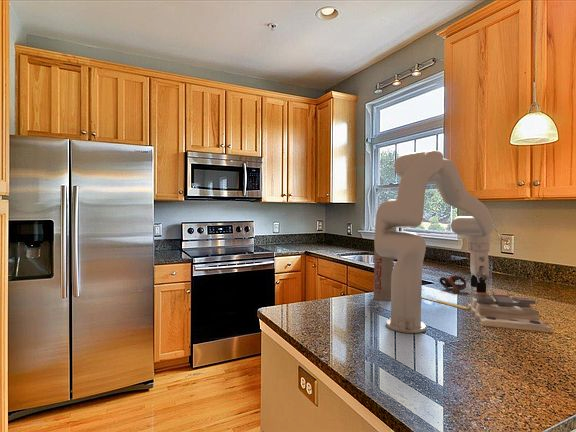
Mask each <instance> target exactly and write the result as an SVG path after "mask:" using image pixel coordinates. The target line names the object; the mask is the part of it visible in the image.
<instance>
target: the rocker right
mask: <svg viewBox="0 0 576 432" xmlns="http://www.w3.org/2000/svg"><path fill="white" fill-rule="evenodd" d="M511 299H512V300H513V301H515V302H518V303H527V304H530V305H536V300H534V299H531V298H529V297H526V296H524V297H523V296H512V297H511Z"/></svg>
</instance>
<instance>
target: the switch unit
mask: <svg viewBox="0 0 576 432" xmlns="http://www.w3.org/2000/svg"><path fill="white" fill-rule="evenodd" d="M492 299H493V300H494V301H493V303H488V302H478V300H477V299H476V298H475V296H474V297H473V296H471V299H470V300H471V301H470V303H468V304H467V307H468V308H469V311H470V312H471V314H472V315H473V316H474V317H475V319H476V320H477V321H478V323H479V324H480V325H481V326H483V327H485V326H486V327H494V328H502V329H504V328H505V329H513V330H522V331H524V330H525V331H534V332H545V333H552V329H553V328H552V326H550V325H549V324H548V323H546V322H544V320H542V319H540V311H539V310H537V309H536V308H534V307H533V306H531V304H527V303H518V302H515V301H513V300H512V301H513V302H514V306H506V305H498V303H497V302H496V300H495V298H492Z"/></svg>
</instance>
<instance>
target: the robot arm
mask: <svg viewBox="0 0 576 432" xmlns="http://www.w3.org/2000/svg"><path fill="white" fill-rule="evenodd" d="M393 164H394V165H393V170H394V172H395V173H396V175H397V176H398V177H400V180H399V184H398V187H397V188H398V189H397V196H396V199H388V200H385V201H383V202H381V204H380V205H378V208H377V210H376V215H375V228H374V239H373V242H374V248H375V250H376V252H377V253H378V254H379V255H380V256H382V257H386V258H392V259H393V260H397V261H396V263H395V264H394V265H393V270H392V275H391V300H390V318H388V319H386V320H385V325H386V327H387V328H388V329H391V330H393V331H395V332H399V333H404V334H419V333H420V334H421V333H423V332H425V331H426V330H427V325H426V324H425V323H424V322H422V298H421V296H422V290H423V289H422V287H423V286H422V282H423V281H422V279H423V278H422V277H423V265H424V260H425V259H424V258H425V255H426V248H427V244H426V241H425V239H424V237H422V236H421V234H418V233H415V232H411V231H397V228H402V229H404V228H405V229H412V228H413V229H414V228H418V227H420V226H421V224H422V221H423V219H424V211H425V209H424V208H425V194H426V189H427V185H428V184H435V185H436V188H437V190H438V192H439V195H440V196H441V199H442V201H443V203H445V204H446V205H448V206H451V207H453V208H455V209H458V210H461V211H463V212H465V213H467V214H469V216H467V215H466V216H465V215H464V216H463V215H460V216H457V217H455V218H453V219H452V221H451V224H450V229H451V232H452V233H454V234H456V235H458V236H464V237H465V236H466V237H467V251H468V252H470V254H469V255H470V257H469V258H470V259H469V260H470V261H469V266H470V267H469V270H470V273H471V274H470V287H471V288H476V291H475V292H483V293H487V278H489V276H490V266H489V265H490V264H489V263H490V262H489V261H490V260H489V252H490V251H491V250H490V249H491V247H490V245H491V244H490V241H491V240H490V239H491V234H492V233H493V231H494V222H493V218H492V216H491V214H490V211H489V209H488V208H487V206H486V205H485V204H484V203H483V202H481V200H480V199H478V198H476V197H475V196H474V195H473V194H471V193H469V192H468V191H467V189H466V186H465V184H464V182H463V180H462V178H461V175H460V172H459V170H458V168H457V166H456V164H455V162H454V161H453V160H451V159H449V158H448V159H447V158H444V155H443V153H442V152H441V151H439V150H436V149H435V150H434V149H430V150H424V151H423V150H422V151H417V152H410V153H404V154H401V155H399V156H398V157H396V159H395V161H394V163H393Z"/></svg>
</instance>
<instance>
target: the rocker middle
mask: <svg viewBox="0 0 576 432" xmlns="http://www.w3.org/2000/svg"><path fill="white" fill-rule="evenodd" d="M492 297H493V299H495V300H496V302H497V303H498V305H506V306H514V302H513V301H512V297H510V295H509V294H508V293H507V292H503V291H502V292H501V291H493V292H492Z"/></svg>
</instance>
